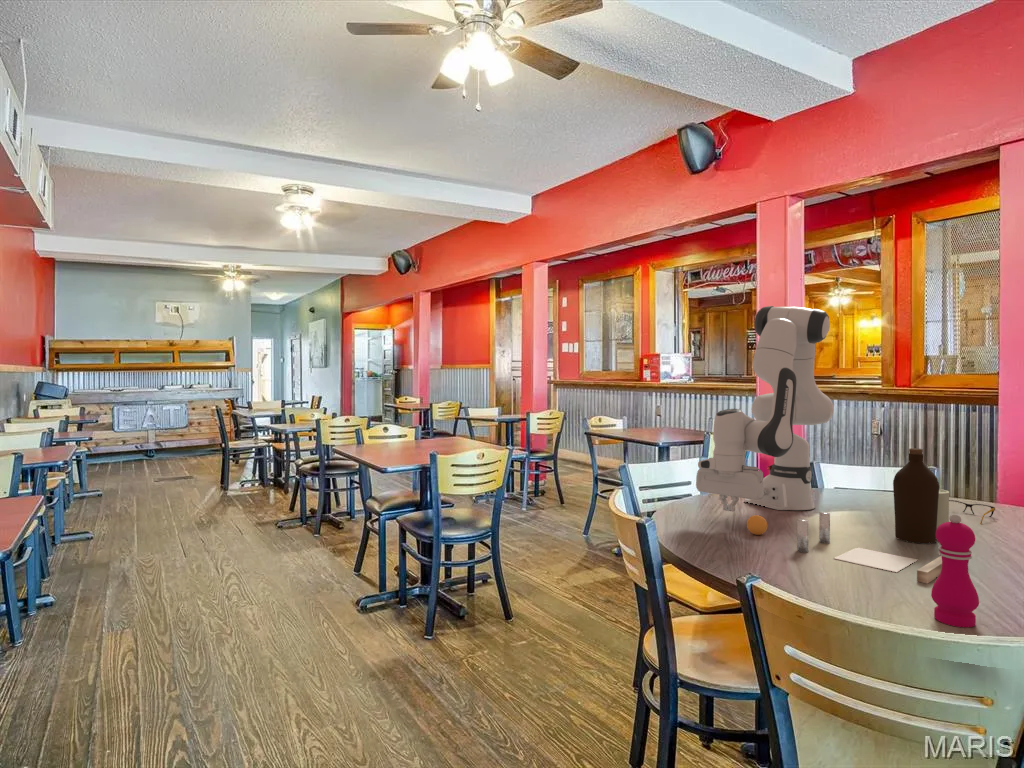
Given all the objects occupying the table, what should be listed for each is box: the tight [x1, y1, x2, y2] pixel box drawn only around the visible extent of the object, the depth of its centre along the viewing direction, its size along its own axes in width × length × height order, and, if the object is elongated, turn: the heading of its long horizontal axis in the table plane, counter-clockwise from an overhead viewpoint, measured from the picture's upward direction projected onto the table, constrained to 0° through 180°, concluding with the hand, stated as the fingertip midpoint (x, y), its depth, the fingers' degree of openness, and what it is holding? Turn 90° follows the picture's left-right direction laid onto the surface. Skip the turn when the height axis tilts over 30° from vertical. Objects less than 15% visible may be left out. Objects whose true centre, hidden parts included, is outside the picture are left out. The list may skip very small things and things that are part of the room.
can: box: [937, 488, 950, 528], centre depth 179 cm, size 9×9×12 cm
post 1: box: [796, 518, 809, 553], centre depth 159 cm, size 3×3×8 cm
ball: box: [746, 514, 768, 536], centre depth 175 cm, size 6×6×6 cm
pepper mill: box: [930, 513, 980, 628], centre depth 114 cm, size 7×7×20 cm
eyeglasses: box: [949, 499, 996, 525], centre depth 195 cm, size 14×14×4 cm
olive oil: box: [892, 447, 940, 544], centre depth 169 cm, size 11×11×25 cm
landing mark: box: [833, 547, 918, 574], centre depth 151 cm, size 14×14×1 cm
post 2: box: [818, 511, 831, 545], centre depth 167 cm, size 3×3×8 cm
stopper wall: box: [916, 555, 942, 584], centre depth 141 cm, size 2×20×2 cm, turn 129°
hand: (729, 510), depth 181 cm, fingers closed
